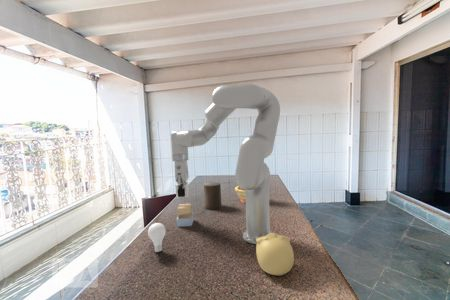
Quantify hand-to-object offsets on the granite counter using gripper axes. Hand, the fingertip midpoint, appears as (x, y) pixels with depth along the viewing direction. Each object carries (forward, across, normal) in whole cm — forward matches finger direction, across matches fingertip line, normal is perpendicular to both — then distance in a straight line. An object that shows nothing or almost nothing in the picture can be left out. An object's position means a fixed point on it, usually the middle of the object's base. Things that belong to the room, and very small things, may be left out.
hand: (182, 194), depth 111 cm
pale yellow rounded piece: (+14, -39, -35) cm, 55 cm away
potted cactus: (+15, +30, -34) cm, 48 cm away
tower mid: (+11, 0, -1) cm, 11 cm away
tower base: (+15, 0, -1) cm, 15 cm away
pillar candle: (+15, +22, -13) cm, 29 cm away
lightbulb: (+15, -25, +6) cm, 30 cm away
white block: (+1, 0, 0) cm, 1 cm away
